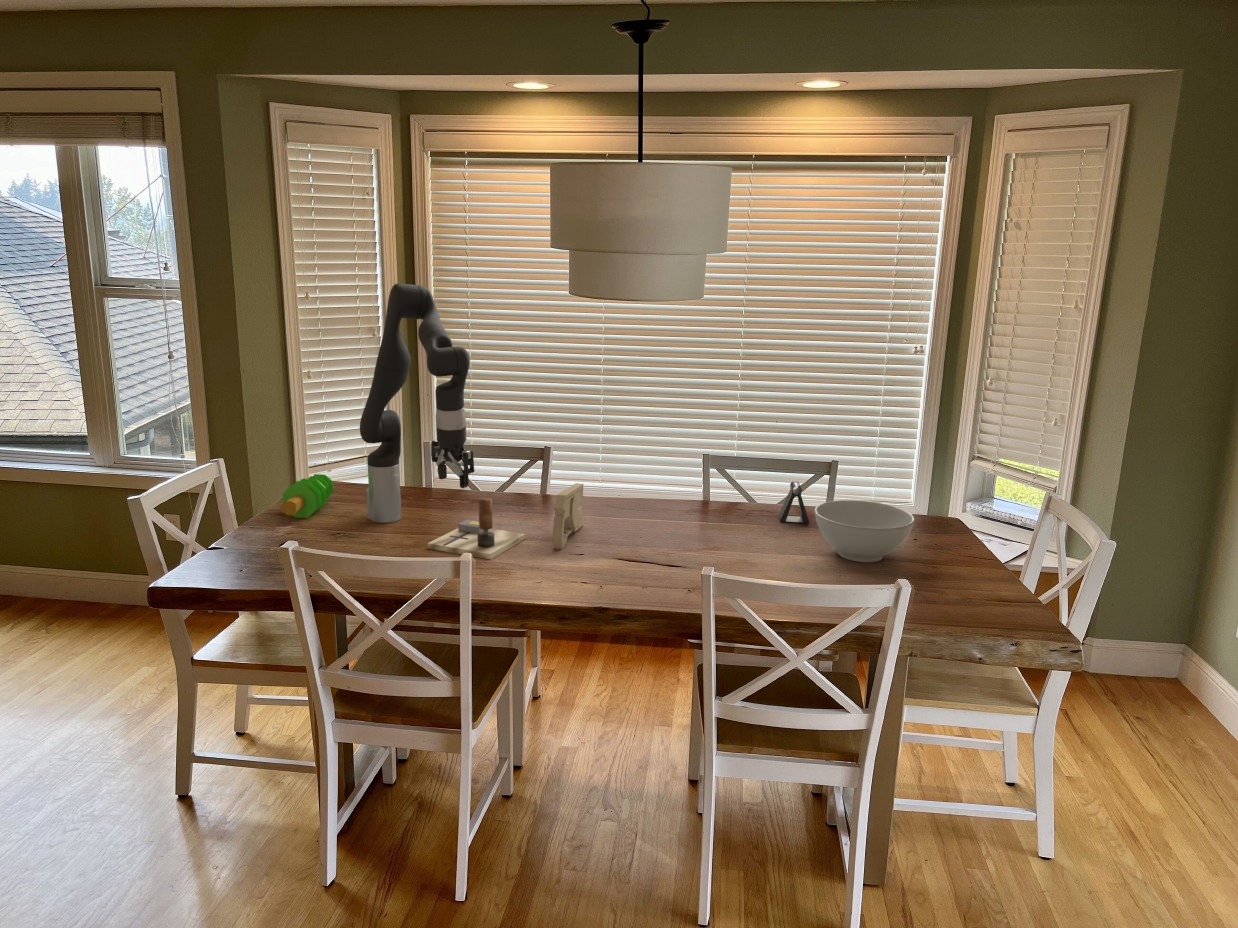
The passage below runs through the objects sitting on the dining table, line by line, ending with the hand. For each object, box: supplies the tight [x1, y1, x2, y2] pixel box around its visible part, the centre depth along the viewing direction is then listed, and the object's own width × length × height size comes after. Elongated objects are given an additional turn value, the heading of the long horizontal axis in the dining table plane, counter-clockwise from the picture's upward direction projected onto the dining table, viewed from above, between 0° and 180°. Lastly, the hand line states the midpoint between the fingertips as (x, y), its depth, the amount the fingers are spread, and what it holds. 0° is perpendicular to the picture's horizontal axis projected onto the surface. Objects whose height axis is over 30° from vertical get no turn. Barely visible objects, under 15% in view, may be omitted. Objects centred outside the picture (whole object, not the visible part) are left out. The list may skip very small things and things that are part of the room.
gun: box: [551, 482, 584, 550], centre depth 259 cm, size 24×3×15 cm, turn 168°
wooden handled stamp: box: [478, 497, 495, 548], centre depth 246 cm, size 5×5×13 cm
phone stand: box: [778, 480, 810, 525], centre depth 280 cm, size 9×6×12 cm, turn 84°
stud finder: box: [457, 518, 483, 534], centre depth 260 cm, size 7×5×2 cm
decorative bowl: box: [814, 499, 916, 563], centre depth 250 cm, size 27×27×12 cm
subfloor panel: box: [427, 527, 526, 560], centre depth 253 cm, size 20×19×2 cm
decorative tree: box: [280, 473, 334, 519], centre depth 280 cm, size 11×12×30 cm
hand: (453, 482), depth 235 cm, fingers open, 8 cm apart
